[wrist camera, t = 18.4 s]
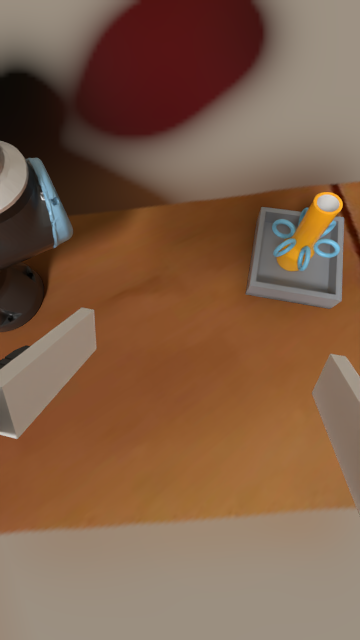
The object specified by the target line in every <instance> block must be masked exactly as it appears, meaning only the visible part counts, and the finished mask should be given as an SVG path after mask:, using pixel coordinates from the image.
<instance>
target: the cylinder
mask: <svg viewBox="0 0 360 640" xmlns="http://www.w3.org/2000/svg"><path fill="white" fill-rule="evenodd" d="M342 206H343V203H342V200H341V199H340V197H339V196H337V195H336V194H333V193H330V192H323V193H320V194H318V195H317V196H316V197H315V198H314V200H313V202H312V204H311V205H310V207H309V208H304V209H303V211H302V212H301V215H300V218H299V222H298V228H297V229H295V226H294V225H293V223H291V222H290V221H288V220H285V219H279V220H276V221H275V222H274V223H273V225H272V230H273V232H274V234H275V235H277V236H278V237H280V238H284V239H285V240H284V241H283V242H282V243H281V244H280V245H279V246H277V247H276V249H275V250H274V252H273V255H274V256H275V257H276V259H277V262H278V264H279V265H280V267H282V268H283V269H285V270H287V271H298V270H300V271H304V270H305V269H306V268H307V266H308V264H309V261H310V259H311V258H312V257H313V255H314V253H316V254H318V255H319V256H322V257H326V258H331V257H334V256H336V255H338V253H339V252H340V246H339V245H338V243H337V242H335V241H333V240H331V239H320V240H319V238H321V237H323V236H325V235H326V234H328V233H329V232H330V231H331V230H332V229H333V228H334V227H335V225H336V221H334V218H335V217H336V216H337V214H338V213H339V212H340V210H341V209H342ZM278 224H285V225H287V226H288V227H289V228H290V229H291V232H290V233H289V234H282V233H280V232H279V231H278V230H277V228H276V226H277V225H278ZM328 226H329V227H328ZM322 243H326V244H330V245H332V246H333V247H334V249H335V251H334V252H333V253H324V252H322V251H320V250H319V248H318V245H319V244H322Z"/></svg>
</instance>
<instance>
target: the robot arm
mask: <svg viewBox="0 0 360 640" xmlns="http://www.w3.org/2000/svg"><path fill="white" fill-rule="evenodd" d="M72 235H73V228H72V225H71V223H70V221H69V218H68V216H67V214H66V212H65V210H64V207H63V205H62V203H61V201H60V199H59V197H58V195H57V192H56V190H55V188H54V186H53V184H52V182H51V180H50V178H49V176H48V173H47V172H46V169H45V167H44V165H43V163H42V162H41V160H39V159H38V158H33V159H32V158H29V159H27V161H26V160H25V158H24V157H23V155H22V154H21V153H20V152H19V151H18V150H17V149H16V148H15V147H13V146H12V145H10V144H8V143H5V142H3V141H0V332H6V331H10V330H14V329H16V328H18V327H20V326H22V325H24V324H25V323H26V322H28V321H29V320H30V319H31V318H32V317H33V316H34V315H35V314H36V312H37V311H38V309H39V307H40V305H41V303H42V300H43V296H44V286H43V282H42V279H41V278H40V276H39V275H38V274H37V273H36V272H35V271H34V270H33V269H32V268H30V267H29V266H28V265H26V264H24V263H22V261H24V260H27V259H29V258H31V257H34V256H36V255H38V254H41V253H43V252H45V251H48V250H50V249H53V248H56V247H57V246H58V245H59V244H61V243H63V242H65V241H67V240H69V239H70V238H71V237H72ZM95 350H96V335H95V319H94V310H92V309H87V308H81V309H79V310H78V311H77V312H75V313H74V314H73V315H71V316H70V317H69V318H67V319H66V320H65V321H63V322H62V323H61V324H59V325H58V326H57V327H55V328H54V329H53V330H52V331H50V332H49V333H48V334H46V335H45V336H44V337H42V338H41V339H40V340H38V341H37V342H36V343H34V344H33V345H32V346H24V347H21V348H19V349H17V350H14V351H13V352H12V353H10V354H9V355H7V356H6V357H5V359H2V360H0V435H4V436H8V437H12V438H15V439H18V438H19V437H20V436H21V434H22V433H23V432H24V431H25V430H26V429H27V428H28V426H29V425H30V424H31V423H32V422H33V421H34V420H35V418H36V417H37V416H38V415H39V414H40V413H41V412H42V410H43V409H44V408H45V407H46V406H47V405H48V404H49V402H50V401H51V400H52V399H53V398H54V397H55V396H56V394H57V393H58V392H59V391H60V390H61V389H62V388H63V386H64V385H65V384H66V383H67V382H68V381H69V380H70V379H71V377H72V376H73V375H74V374H75V373H76V372H77V371H78V369H79V368H80V367H81V366H82V365H83V364H84V363H85V361H86V360H87V359H88V358H89V357H90V356H91V355H92V353H93V352H94V351H95ZM312 395H313V397H314V400H315V402H316V405H317V408H318V410H319V413H320V415H321V418H322V420H323V423H324V425H325V428H326V431H327V433H328V436H329V438H330V441H331V443H332V446H333V449H334V451H335V454H336V456H337V459H338V461H339V464H340V466H341V469H342V472H343V474H344V477H345V479H346V482H347V484H348V487H349V490H350V492H351V495H352V497H353V500H354V502H355V505H356V507H357V510H358V513H359V515H360V377H359V375H358V374H357V372H356V371H355V369H354V368H353V366H352V365H351V363H350V362H349V360H348V359H347V358H346V357H345V356H340V355H334V354H330V356H329V358H328V360H327V362H326V364H325V366H324V368H323V370H322V373H321V375H320V377H319V379H318V381H317V383H316V385H315V387H314V390H313V392H312Z"/></svg>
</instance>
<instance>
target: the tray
mask: <svg viewBox="0 0 360 640" xmlns="http://www.w3.org/2000/svg"><path fill="white" fill-rule="evenodd" d="M300 215H301V212H298V211H290V210H282V209H275V208H267V207H261V210H260V213H259V216H258V219H257V223H256V230H255V236H254V243H253V249H252V256H251V262H250V269H249V275H248V282H247V289H246V294H247V295H253V296H259V297H264V298H270V299H276V300H282V301H288V302H293V303H299V304H305V305H311V306H316V307H322V308H328V309H330V308H332V307H333V306H335V305H336V304H338V303H339V302H341V300H342V267H343V234H344V217H335V218H334V221H336V225H335V227H334V228H333V229H332V230H331V231H330V232H329V233H328V234H326V235H325V236H323V237H321V238H319V240H320V239H331V240H333V241H335V242H337V243H338V245H339V246H340V252H339V253H338V255H336V256H334V257H331V258H326V257H322V256H319V255H318V254H316V253H314V255H313V257H312V258H311V259H310V261H309V264H308V266H307V268H306V269H305V270H304V271H300V270H298V271H287V270H285V269H283V268H282V267H280V265H279V264H278V262H277V259H276V257H275V256H274V255H273V252H274V250H275V249H276V247H277V246H279V245H280V244H281V243H282V242H283V241H284V240H285V239H284V238H280V237H278V236H277V235H275V234H274V232H273V230H272V225H273V223H274V222H275V221H276V220H279V219H285V220H288V221H290V222H291V223H293V225H294V226H295V229H297V228H298V222H299V218H300ZM328 227H329V226H328ZM276 228H277V230H278V231H279V232H280V233H282V234H289V233H290V232H291V229H290V228H289V227H288V226H287V225H285V224H278V225H277V226H276ZM318 248H319V250H320V251H322V252H324V253H333V252H334V251H335V249H334V247H333V246H332V245H330V244H326V243H322V244H319V245H318Z"/></svg>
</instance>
